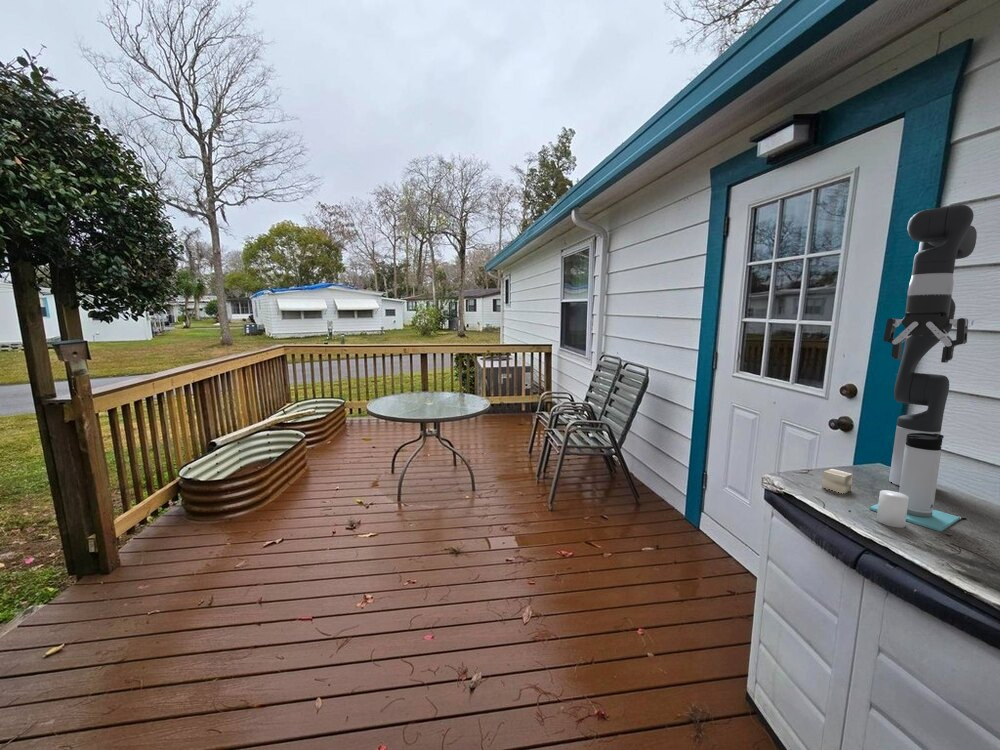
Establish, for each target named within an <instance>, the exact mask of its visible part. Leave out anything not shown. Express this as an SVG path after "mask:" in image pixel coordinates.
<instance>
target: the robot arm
mask: <svg viewBox="0 0 1000 750" xmlns="http://www.w3.org/2000/svg"><path fill="white" fill-rule="evenodd" d="M973 220H974V211H973V209H972V208H971V207H970V206H969V205H965V204H956V205H949V206H943V207H935V208H928V209H923V210H920V211H918V212H916V213H915V214H913V215H912V216H911V217H910V218H909V220H908V223H907V229H906V230H907V233H908V235H909V238H910V239H912V240H913V241H915V242H919V246H918V252H916V254H915V255H914V258H913V263H912V264H913V265H912V272H911V278H910V281H909V285H908V288H907V293H906V294H907V297H906V305H905V314H904V317H903V318H902V319H900V318H893V317H892V318H891V317H890V318H888V319H887V321H886V324H885V331H884V333H883V339H882V341H883V342H886V343H890V344H891V345H892V346H891V347H892V349H891V353H890V354H891V358H893V360H894V361H896V360H897V361H899V360H900V365H899V367H898V372H897V375H896V380H895V384H894V389H893V390H894V391H893V394H894V400H895V401H896V402H897V403H901V404H909V405H917V406H924V407H927V409H926V410H924V411H922V412H919V413H912V414H904V415H900V416H898V417H897V420H896V429H895V433H894V434H895V435H894V443H893V451H892V457H891V464H890V471H889V479H888V480H889V482H890V483H891V482H892V484H893V485H896V486H899V487H900V481H901V473H902V465H903V457H904V450H905V444H906V437H907V434H910V433H928V434H940V435H942V433H941V432H942V427H943V426H942V425H943V420H944V415H945V408H946V403H947V399H948V395H949V390H950V379H949V378H948V377H947V376H946V375H943V374H934V373H922V372H915V371H916V369H917V367H918V364H919V362H920V361H921V360H922V358H923V357H924V356H925V355H926V354H927V353H928V352H930V350H931V349H932V348H933V347H935V346H936V345H937V344H939V343H940V342H941V343H942V344H943V345H944V346H943V348H942V353H941V359H940V362H941V363H942V364H943V363H945V364H947V363H949V361H952V360H953V357H954V351H955V350H954V349H955V347H956V346H960V345H966V343H968V330H969V319H967V318H966V317H965V318H964V317H960V318H955V313H956V307H957V306H956V303H955V301H954V299H953V298H952V296H953V290H954V289H953V288H954V271H955V266H956V260H960V259H965V258H967V257H969V256H970V255H972V253H973V252H974V250H975V247H976V243H977V236H978V235H977V230H976V228H975V226H974V225H972V223H973ZM900 324H901V325H902V326H903V327H904V328H905V329H904V330H902V331H901V332H900V333H899V334H898V335H897V336H896V337H895V332H896V328H898V327H899V326H900ZM952 328H955V329H956V333H955V334H956V335H955V336H956V337H955V339H952V337H951V336H950V334H949V333H950V331H951V330H952ZM903 343H904V345H903Z"/></svg>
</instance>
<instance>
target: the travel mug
mask: <svg viewBox="0 0 1000 750" xmlns="http://www.w3.org/2000/svg"><path fill="white" fill-rule="evenodd" d="M943 439H944V435H943V434H941V435H940V434H928V433H910V434H907V437H906V444H905V450H904V457H903V465H902V473H901V481H900V486H899V488H898V493H902V494H904V495H907V496H908V497H909V501H908V508H907V514H910V515H913V516H918V517H931V516H932V514H933V510H934V505H935V498H936V491H937V483H938V477H939V468H940V463H941V462H940V461H941V455H942V445H943Z"/></svg>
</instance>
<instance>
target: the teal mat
mask: <svg viewBox="0 0 1000 750" xmlns="http://www.w3.org/2000/svg"><path fill="white" fill-rule="evenodd" d="M869 510H870V511H873V512H876V513H877V511H878V503H876V504H873V505H872V506H869ZM960 518H961V517H960V516H957V515H954V514H951V513H947V512H943V511H939V510H936V509H933V514H932V516H931V517H918V516H913V515H910V514H907V515H906V522H909V523H912V524H915V525H919V526H922V527H926V528H929V529H931V530H935V531H936V532H940V533H941V532H943V531H944V530H946V529H947V528H949V527H950V526H952V525H953V524H955V523H956V522H958V521H959V520H960Z"/></svg>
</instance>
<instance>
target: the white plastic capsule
mask: <svg viewBox="0 0 1000 750" xmlns="http://www.w3.org/2000/svg"><path fill="white" fill-rule="evenodd" d="M878 496H879V497H878V502H877V504H878V511H877V512H876V521H877V522H878V523H880V524H883V525H885V526H889V527H893V528H898V529H899V528H900V529H901V528H902V529H903V528H905V526H906V522H907V521H906V515H907V508H908V501H909V497H908V496H907V495H904V494H902V493H899V491H898V492H897V491H893V490H888V489H887V490H886V489H882V490H880V491H879V495H878Z"/></svg>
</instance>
